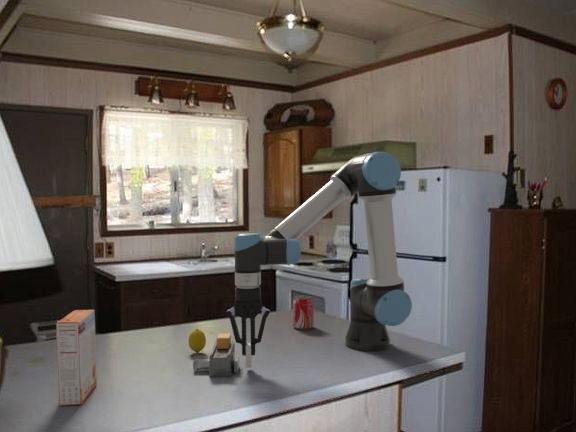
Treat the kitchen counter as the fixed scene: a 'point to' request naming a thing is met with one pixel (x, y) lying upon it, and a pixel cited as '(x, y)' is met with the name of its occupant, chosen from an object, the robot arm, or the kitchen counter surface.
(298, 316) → the beverage can
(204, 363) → the pin
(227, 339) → the block
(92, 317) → the cracker box
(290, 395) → the kitchen counter surface
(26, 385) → the kitchen counter surface
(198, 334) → the lemon
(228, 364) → the block
